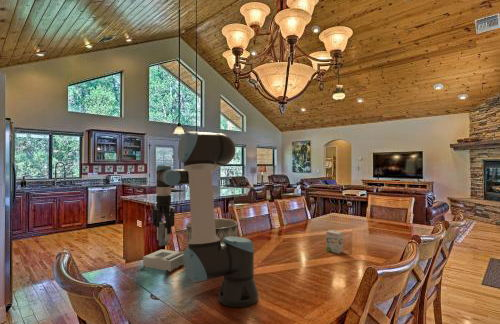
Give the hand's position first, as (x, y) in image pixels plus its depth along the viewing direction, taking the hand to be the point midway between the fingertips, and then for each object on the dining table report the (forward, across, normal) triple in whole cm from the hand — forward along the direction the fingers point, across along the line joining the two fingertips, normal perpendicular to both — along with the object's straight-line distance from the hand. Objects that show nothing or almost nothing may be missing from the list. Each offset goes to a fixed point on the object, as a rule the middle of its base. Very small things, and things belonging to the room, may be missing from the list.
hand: (163, 239), depth 149 cm
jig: (+13, -2, 0) cm, 13 cm away
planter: (+13, -25, -7) cm, 29 cm away
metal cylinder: (+3, 0, 0) cm, 3 cm away
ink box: (+13, -80, -57) cm, 99 cm away
